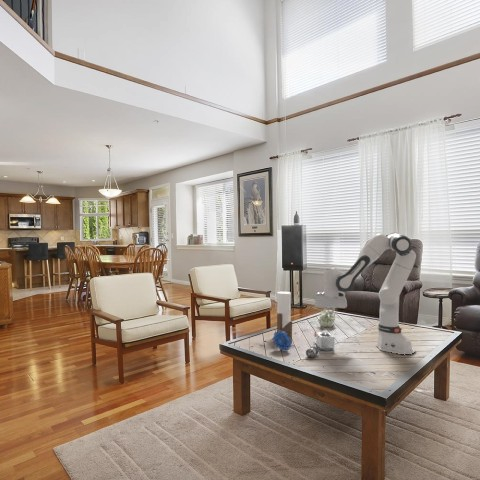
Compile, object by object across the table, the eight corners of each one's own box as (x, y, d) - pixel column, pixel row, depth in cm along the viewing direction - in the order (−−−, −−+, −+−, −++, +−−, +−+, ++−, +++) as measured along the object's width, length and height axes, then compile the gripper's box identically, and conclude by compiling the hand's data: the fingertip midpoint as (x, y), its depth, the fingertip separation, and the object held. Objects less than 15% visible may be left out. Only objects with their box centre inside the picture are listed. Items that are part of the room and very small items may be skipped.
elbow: (334, 348, 213) (334, 336, 213) (321, 348, 212) (321, 337, 212) (323, 339, 232) (323, 328, 232) (310, 339, 231) (310, 329, 230)
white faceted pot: (336, 348, 216) (337, 334, 216) (326, 352, 210) (326, 337, 210) (323, 344, 224) (323, 330, 224) (313, 347, 218) (313, 333, 218)
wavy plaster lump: (330, 336, 266) (332, 320, 258) (314, 329, 272) (316, 314, 265) (339, 322, 279) (341, 307, 271) (323, 316, 285) (325, 301, 277)
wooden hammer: (289, 344, 225) (289, 316, 225) (275, 340, 232) (275, 313, 232) (292, 342, 228) (292, 315, 227) (278, 339, 235) (278, 312, 235)
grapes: (270, 351, 211) (270, 331, 211) (274, 347, 217) (274, 328, 217) (289, 353, 206) (289, 333, 206) (292, 350, 213) (292, 330, 212)
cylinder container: (287, 337, 240) (287, 293, 240) (274, 334, 245) (275, 292, 245) (292, 333, 248) (292, 291, 248) (280, 331, 253) (280, 290, 253)
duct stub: (310, 354, 206) (310, 345, 206) (318, 356, 203) (318, 347, 203) (305, 357, 201) (305, 348, 201) (313, 358, 198) (313, 350, 198)
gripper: (314, 293, 223) (314, 315, 223) (347, 294, 221) (347, 316, 221) (313, 291, 229) (313, 312, 230) (345, 292, 227) (345, 313, 227)
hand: (330, 314), depth 225 cm, fingers closed
